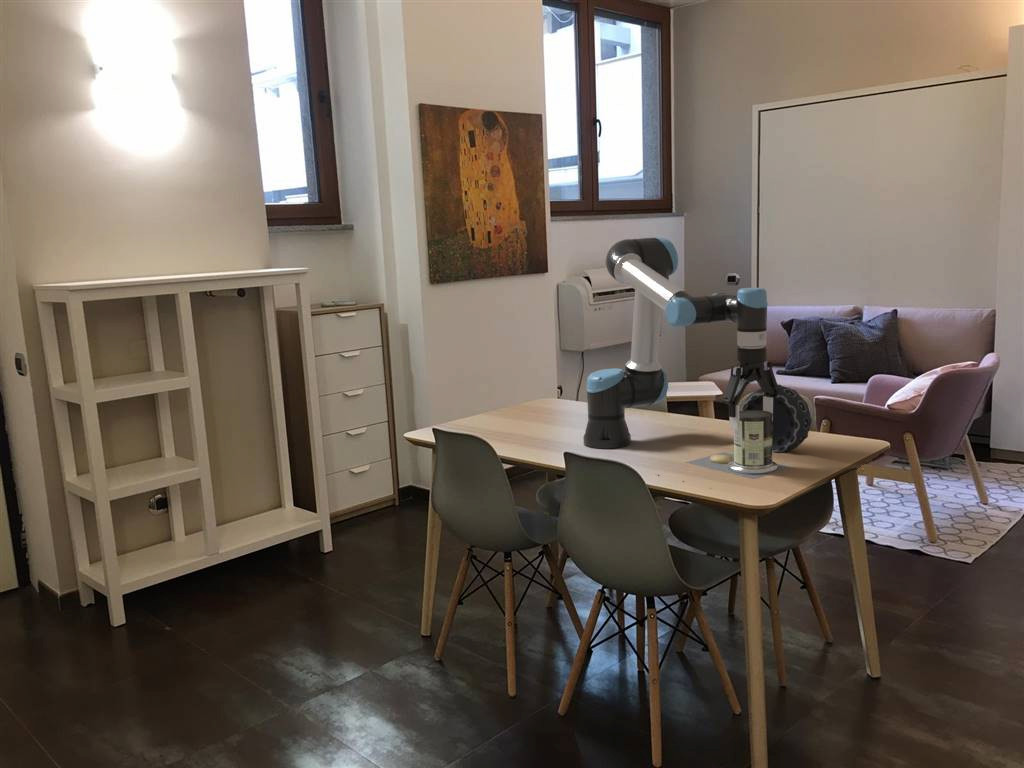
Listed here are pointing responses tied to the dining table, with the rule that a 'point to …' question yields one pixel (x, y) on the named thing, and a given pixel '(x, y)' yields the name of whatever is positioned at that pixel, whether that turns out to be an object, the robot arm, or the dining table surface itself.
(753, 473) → the metal dome
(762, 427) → the coffee can
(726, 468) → the fitting board
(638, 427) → the dining table surface
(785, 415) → the dark patterned bowl
